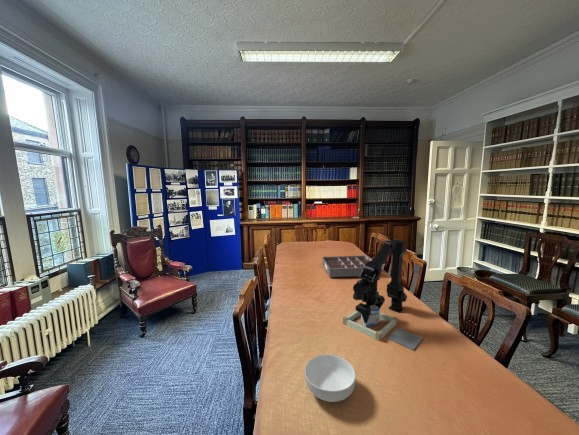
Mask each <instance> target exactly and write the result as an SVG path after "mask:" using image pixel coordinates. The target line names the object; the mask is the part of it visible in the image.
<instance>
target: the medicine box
mask: <svg viewBox="0 0 579 435" xmlns="http://www.w3.org/2000/svg"><path fill="white" fill-rule="evenodd" d="M370 308H371V314H370V317H369V319H368V322H367V323H364V320H363V317H362V315H361V314H360V323H361V324H362V326H364V327H366V328H369V327H372V326H373V327H374V326H377V325H380V320H381V319H380V313H381V308H378V307H377V306H376V305H373V306H372V307H370Z"/></svg>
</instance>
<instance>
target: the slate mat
mask: <svg viewBox="0 0 579 435" xmlns="http://www.w3.org/2000/svg"><path fill="white" fill-rule="evenodd" d="M423 338H424V337H422V336H419V335H417V334H415V333H412V332H410V331H407V330H405V329H402V328H400V327H397V328H396V329H395V330H394V331H393V332H392V333H390V335H389V336H387V339H388V341H389V340H390V341H391V342H394V343H396V344H399V345H400V346H403V347H404V348H407V349H409V350H411V351H414V350H415V349H416V348H418V346H419V344H420V343H421V342H422V341H423Z"/></svg>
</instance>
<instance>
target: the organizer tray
mask: <svg viewBox="0 0 579 435" xmlns="http://www.w3.org/2000/svg"><path fill="white" fill-rule="evenodd" d="M321 258H322V266H323V268H324V269H325V271H326V273H327V274H328V276H329V277H330V278H342V277H343V278H344V277H346V278H347V277H348V278H349V277H350V278H351V277H359V276H360V274H361V272H362V270H363V267H364V266H365V265H366V264H367V263H368V262H369V261H371V260H373V258H371V257H370V256H368V255H367V254H366V253H364V255H342V256H341V255H340V256H338V255H337V256H321ZM364 276H366V275H364ZM366 277H367V276H366Z"/></svg>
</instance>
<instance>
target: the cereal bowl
mask: <svg viewBox="0 0 579 435" xmlns="http://www.w3.org/2000/svg"><path fill="white" fill-rule="evenodd" d="M304 379H305V383H306V386H307V388H308V389H309V391H310V392H311V394H313V395H314V396H315V397H316V398H318V399H320V400H322V401H325V402H330V403H336V402H341V401H343V400H346V399H348V397H349V396H351V395H352V393H353V391H354V389H355V386H356V380H357V376H356V370H355V369H354V367H353V365H352V364H351V363H350V362H349V361H348V360H346V359H345V358H342V357H341V356H339V355H335V354H329V353H326V354H320V355H316V356H314V357H312V358H310V359H309V360H308V361H307V363H306V364H305V367H304Z"/></svg>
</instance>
